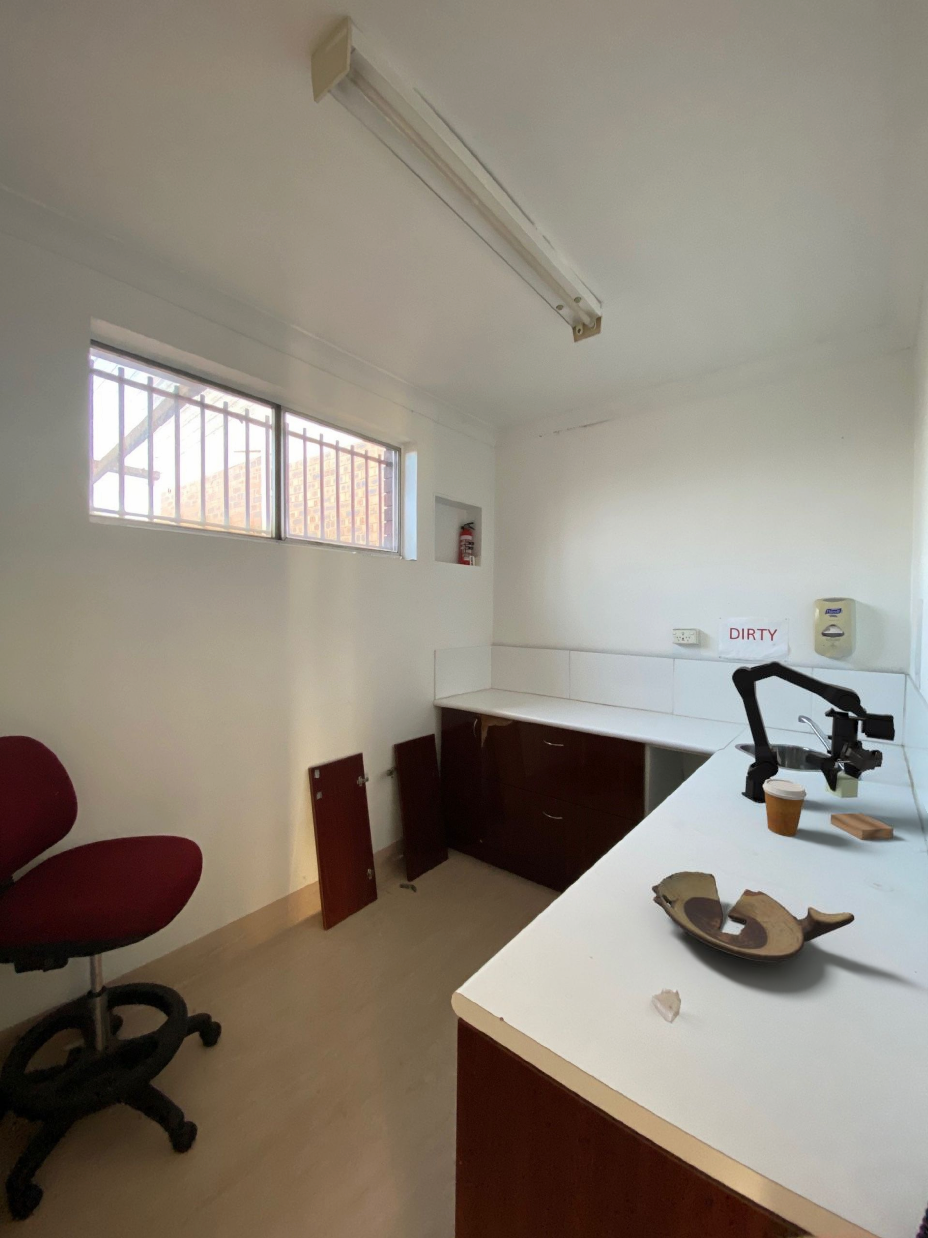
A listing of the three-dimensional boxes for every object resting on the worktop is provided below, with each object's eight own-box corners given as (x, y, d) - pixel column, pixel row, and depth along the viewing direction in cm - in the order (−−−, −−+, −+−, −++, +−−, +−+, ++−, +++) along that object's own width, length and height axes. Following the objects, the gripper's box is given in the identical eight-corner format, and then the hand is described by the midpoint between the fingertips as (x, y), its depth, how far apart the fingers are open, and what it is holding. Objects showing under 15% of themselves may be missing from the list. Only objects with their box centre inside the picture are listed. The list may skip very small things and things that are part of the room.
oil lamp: (672, 881, 106) (673, 845, 106) (852, 945, 88) (855, 902, 87) (634, 936, 89) (636, 894, 88) (849, 1031, 70) (853, 977, 70)
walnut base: (861, 839, 126) (862, 830, 126) (830, 823, 135) (830, 814, 135) (892, 838, 127) (893, 828, 127) (860, 822, 136) (860, 813, 136)
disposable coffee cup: (761, 833, 128) (764, 787, 128) (759, 819, 137) (762, 775, 136) (806, 843, 124) (809, 795, 123) (801, 827, 132) (804, 782, 132)
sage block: (841, 798, 137) (842, 780, 137) (825, 790, 142) (826, 773, 142) (857, 797, 138) (858, 779, 138) (841, 790, 143) (842, 772, 143)
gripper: (840, 743, 130) (836, 803, 131) (903, 742, 133) (899, 800, 133) (805, 732, 141) (802, 787, 142) (863, 730, 144) (860, 785, 144)
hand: (841, 790), depth 140 cm, fingers closed on sage block, 5 cm apart
